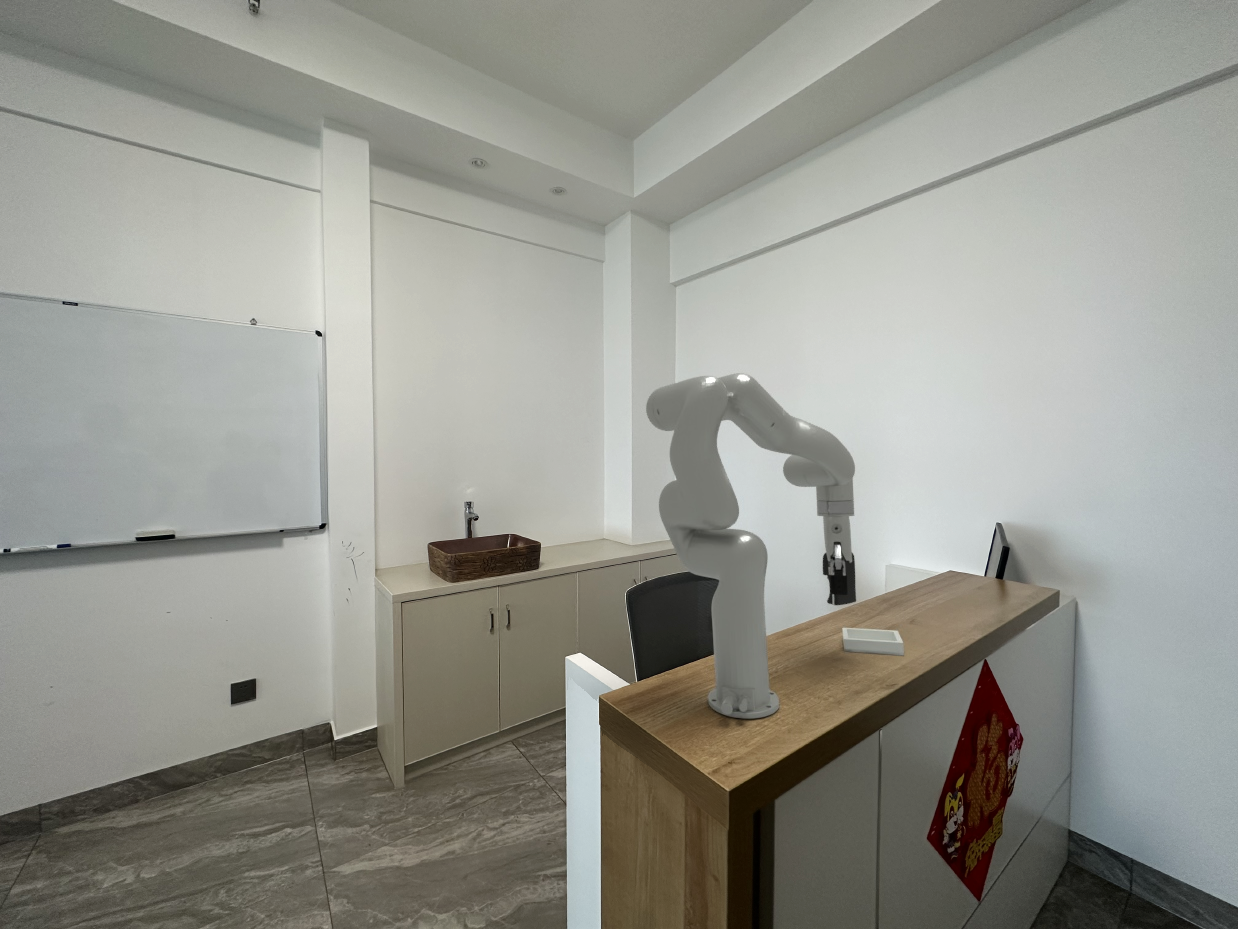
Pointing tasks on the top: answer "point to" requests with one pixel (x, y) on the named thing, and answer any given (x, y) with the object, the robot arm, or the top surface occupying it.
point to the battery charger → (851, 588)
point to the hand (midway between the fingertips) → (838, 590)
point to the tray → (872, 641)
